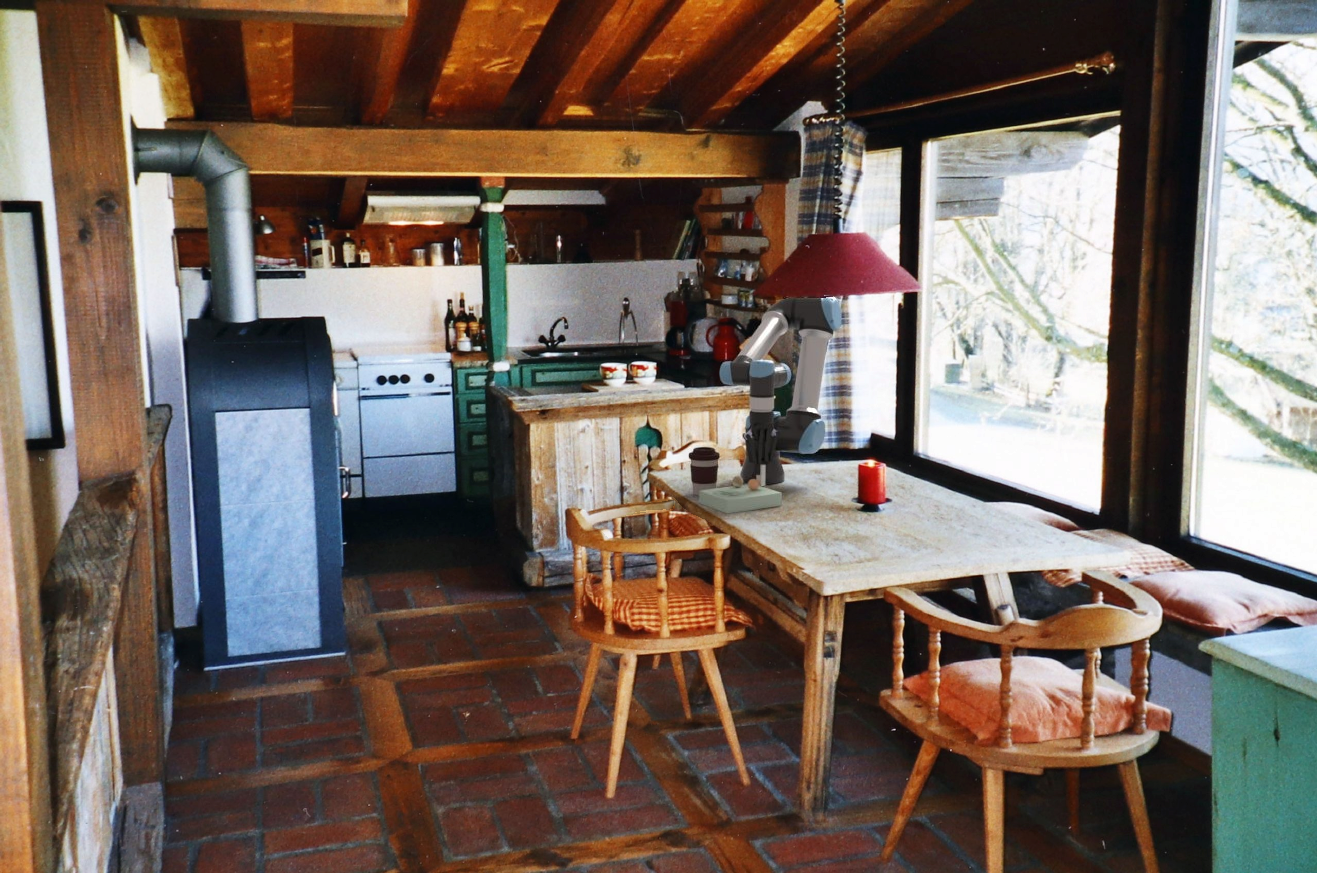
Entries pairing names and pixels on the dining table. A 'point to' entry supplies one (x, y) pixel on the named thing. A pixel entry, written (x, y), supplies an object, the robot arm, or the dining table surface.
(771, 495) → the board
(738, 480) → the beech ball
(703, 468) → the coffee cup
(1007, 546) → the dining table surface
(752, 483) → the terracotta ball
